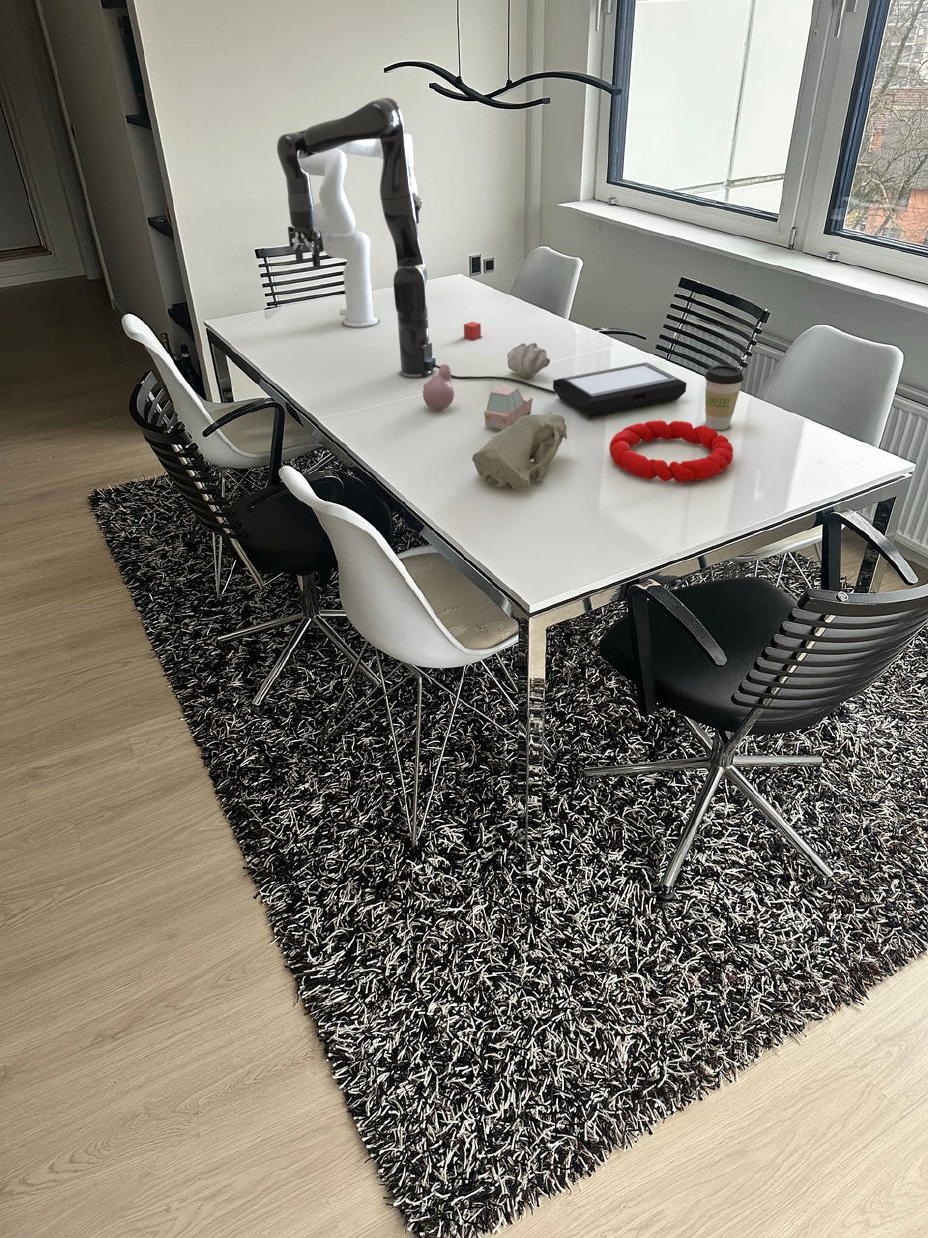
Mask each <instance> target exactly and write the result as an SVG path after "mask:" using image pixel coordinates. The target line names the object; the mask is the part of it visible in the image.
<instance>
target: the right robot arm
mask: <svg viewBox="0 0 928 1238" xmlns="http://www.w3.org/2000/svg"><path fill="white" fill-rule="evenodd" d="M404 133H405V125H404V117H403V113H402V110H401V107H400V105H399V104H398V103H397V101H396V100H394V99H393V98H391V97H383V98H379V99H376V100H375V99H374V100H371V101H369V102H368V103H367V104H365V105H363V106H361V107H359V109H357V110H355V111H354V112H352V113H350V114H348V115H345V116H343V117H340V118H335V119H331V120H326V121H323V122H319V123H317V124H314V125H312V126H309V127H307V128H306V129H303V130H299V131H294V132H290V133H285V134H282V135H280V136H279V138H278V140H277V143H276V153H277V157H278V160H279V162H280V165H281V168H282V171H283V173H284V176H285V181H286V189H287V203H288V211H289V218H290V219H289V220H290V225H291V226H288V227H287V233H288V243H289V247H290V248H292V249H293V251H294V253H295V254H294V255H295V260H296V263H297V264H300V263H301V264H302V263H303V262H304V253H303V246H304V245H305V246H306V248H307V249H309V250H310V252H311V260H312V266H313V268H318V267H320V266H321V256H320V253H323V252H325V251H324V248H323V241H322V234H321V231H314V228H313V226H314V225H315V224H316V219H315V210H314V205H315V203H314V201H315V200H314V197H313V191H312V183H311V175H309V172H308V171H307V170H305V169H302V168H301V166H300V163H299V159H304V158H307V157H310V156H312V155H314V154H316V153H322V152H325V151H328V150H332V149H335V148H337V147H340V146H342V145H344V144H346V143H349V142H353V141H358V140H369V139H380V141H381V146H382V152H383V159H382V167H381V173H380V181H379V199H380V202H381V208H382V213H383V217H384V221H385V224H386V226H387V228H388V231H389V233H390V236H391V239H392V241H393V245H394V249H395V256H396V266H397V267H396V268H397V269H396V271H395V272H394V276H393V294H394V305H395V311H396V314H397V328H398V329H397V330H398V343H399V358H400V374H401V375H402V376H404V377H406V378H426V377H428V376H429V375H430V374H431V373H433V372H434V369H435V368H436V369H438V370H439V369H440V366H441V365H437V364H436V363H437V362H436V361H437V360H436V357H434V356H433V342H432V341H431V340H430V332H429V331H430V330H429V314H428V311H429V310H428V307H427V302H426V301H427V300H426V284H427V281H428V272H427V269H426V264H425V261H424V257H423V253H422V250H421V246H420V241H419V234H418V223H417V221H416V213H415V206H414V199H413V194H412V189H411V184H410V178H409V171H408V165H407V159H406V151H405V139H404ZM452 378H453V379H456V380H457V379H458V380H488V379H489V380H503V381H510V382H515V383H520V384H523V385H526V386H528V387H531V388H534V389H538V390H541V391H545V392H548V393H550V394H554V395H556V392H555V391H554V390H553V389H549V388H546V387H543V386H539V385H536V384H533V383H531V382H528V381H524V380H520V379H516V378H513V377H504V376H494V375H493V376H492V375H487V376H482V375H481V376H472V375H471V376H468V375H467V376H458V375H454V374H451V379H452Z"/></svg>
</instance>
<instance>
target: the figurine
mask: <svg viewBox="0 0 928 1238" xmlns="http://www.w3.org/2000/svg"><path fill="white" fill-rule="evenodd" d="M439 366H440V369H439V368H438V374H437V375H434V376H433V377H431V378H430V379H429V380H428V381H427V382H426V383H424V384H423V386H422V389H423V390H422V398H423V400H424V403H425V404H426V405H427V406H428V407H429V408H431V409H432V410H436V411H440V410H445V409H447V408H448V407H450V406H451V404H452V403H453V402H454V399H455V389H454V387H453V384H452V381H451V379H452V377H451V375H452V371H451V367H450V365H448V364H445V363H442V364H441V365H439Z"/></svg>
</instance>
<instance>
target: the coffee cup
mask: <svg viewBox="0 0 928 1238" xmlns="http://www.w3.org/2000/svg"><path fill="white" fill-rule="evenodd" d="M704 379H705V387H704V388H705V389H704V390H705V392H704V393H705V394H704V395H705V396H704V397H705V399H704V401H705V402H704V403H705V404H704V406H705V408H704V412H705V426H706V427H709V428H711V429H713V430H715V431H717V430H719V431H722V430H727V429H729V428H730V424H731V422H732V421H731V420H732V418H733V415H734V413H735V408H736V404H737V401H738V397H739V394H740V390H741V389H740V387H741V384H742V382H743V381H744V379H745V377H744V374H743V370H742V369H741V368H739V367H738V366H734V365H728V364H717V365H712V366H710V367H708V369H707V372H705V374H704Z"/></svg>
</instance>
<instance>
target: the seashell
mask: <svg viewBox="0 0 928 1238" xmlns="http://www.w3.org/2000/svg"><path fill="white" fill-rule="evenodd" d="M506 356H507V367H508V369H510V370H511V371H513V372H515V373H517V374H518V375H519V376H521V377H522V378H526V379H531V378H534V376H536V375H537V374H538V373H539V372H540V371H541V370H543V369H544V368H547V367H548V366H549V365H550V363H551V360H550V358H549V357H548V352H547V350H545V348H544V349H543V348H541V347H540V346H539V345H538V344H537V343H536V342H533V343H530V344H526V343H521V344H519V345H518V346H515V347H513V348H511V350H510V351H508V353H507V355H506Z"/></svg>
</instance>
